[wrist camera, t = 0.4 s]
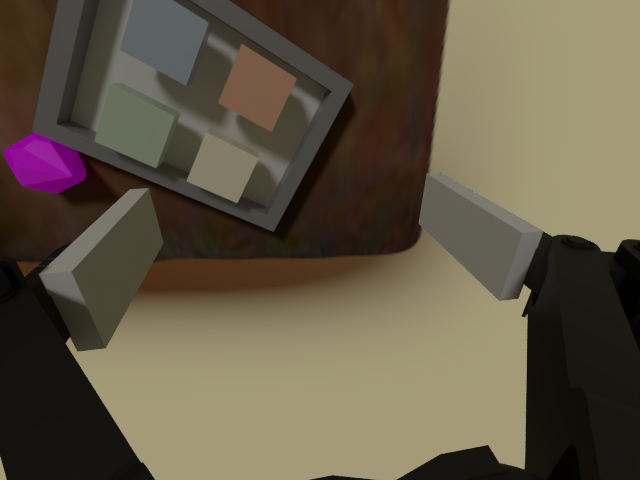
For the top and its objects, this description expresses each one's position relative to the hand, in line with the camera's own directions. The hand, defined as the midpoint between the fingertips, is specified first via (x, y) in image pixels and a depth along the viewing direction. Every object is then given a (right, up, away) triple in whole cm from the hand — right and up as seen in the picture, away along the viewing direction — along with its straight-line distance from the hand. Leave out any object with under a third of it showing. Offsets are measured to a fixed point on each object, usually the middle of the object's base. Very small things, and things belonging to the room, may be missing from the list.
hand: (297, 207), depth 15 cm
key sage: (-16, +9, +15) cm, 23 cm away
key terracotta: (-5, +13, +15) cm, 20 cm away
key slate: (-12, +16, +12) cm, 23 cm away
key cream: (-9, +6, +18) cm, 21 cm away
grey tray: (-11, +12, +17) cm, 24 cm away
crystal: (-26, +7, +18) cm, 32 cm away
